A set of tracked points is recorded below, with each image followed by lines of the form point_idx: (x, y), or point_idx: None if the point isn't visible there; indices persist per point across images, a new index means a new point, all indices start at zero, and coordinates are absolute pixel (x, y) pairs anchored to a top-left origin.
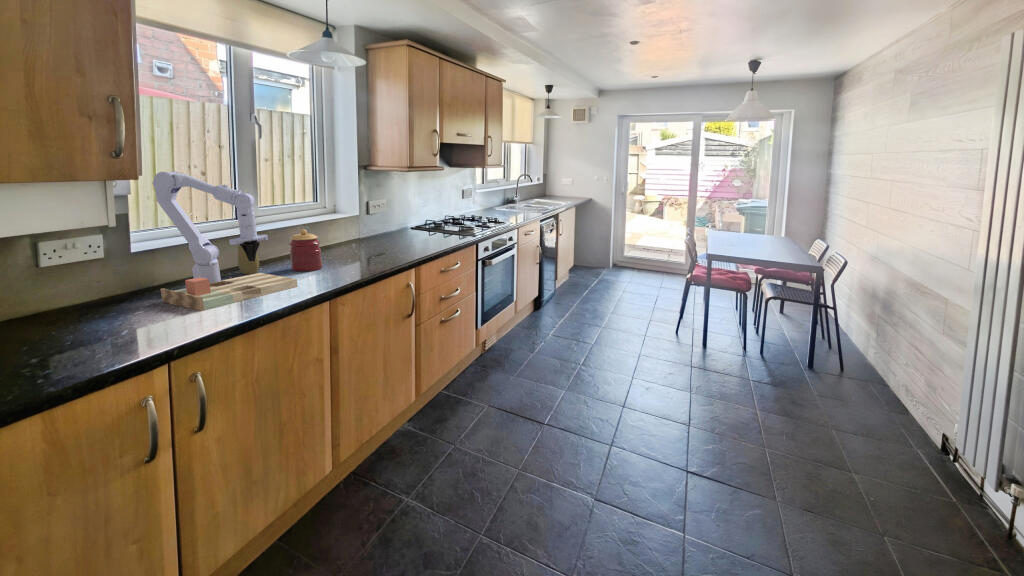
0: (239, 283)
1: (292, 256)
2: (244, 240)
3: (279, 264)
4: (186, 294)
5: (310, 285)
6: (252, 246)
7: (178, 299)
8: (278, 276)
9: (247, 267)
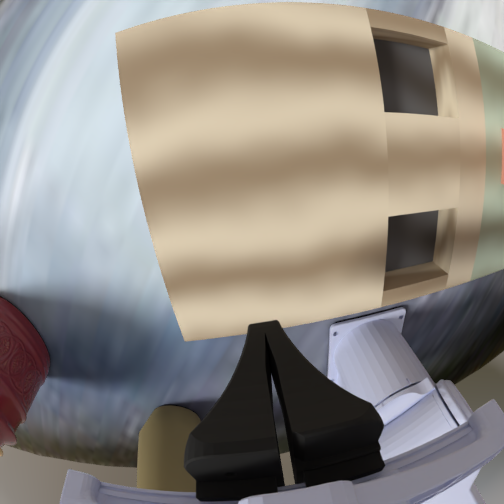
0: (385, 182)
1: (21, 384)
2: (430, 465)
3: (79, 428)
4: None
5: (83, 32)
6: (304, 412)
7: None
8: (147, 175)
9: (188, 426)
